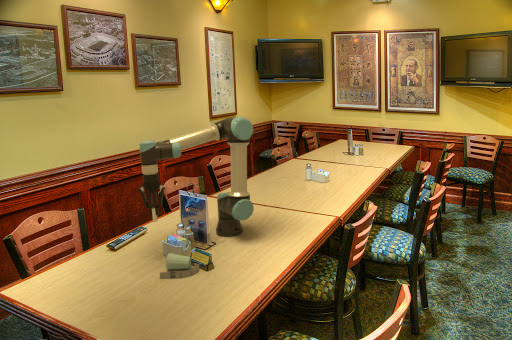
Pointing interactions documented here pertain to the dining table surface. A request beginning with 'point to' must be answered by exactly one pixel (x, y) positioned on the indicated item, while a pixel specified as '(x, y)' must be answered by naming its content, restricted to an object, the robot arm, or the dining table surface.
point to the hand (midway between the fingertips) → (155, 221)
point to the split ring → (180, 273)
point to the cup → (177, 262)
